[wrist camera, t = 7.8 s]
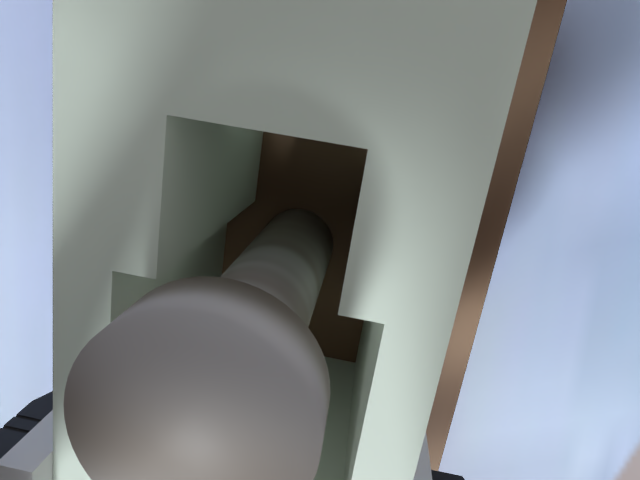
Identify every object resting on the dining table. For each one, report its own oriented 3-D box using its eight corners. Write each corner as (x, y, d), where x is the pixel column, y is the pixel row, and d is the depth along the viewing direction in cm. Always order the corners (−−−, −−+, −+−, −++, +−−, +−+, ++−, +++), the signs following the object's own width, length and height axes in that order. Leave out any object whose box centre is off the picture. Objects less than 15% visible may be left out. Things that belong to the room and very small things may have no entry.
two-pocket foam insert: (211, 2, 14) (52, -90, 7) (461, 41, 13) (542, -20, 7) (163, 568, 20) (52, 805, 13) (334, 609, 19) (310, 877, 13)
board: (150, -64, 15) (-350, -419, 5) (552, -6, 14) (1004, -286, 4) (120, 561, 22) (-104, 958, 12) (385, 624, 21) (389, 1110, 11)
